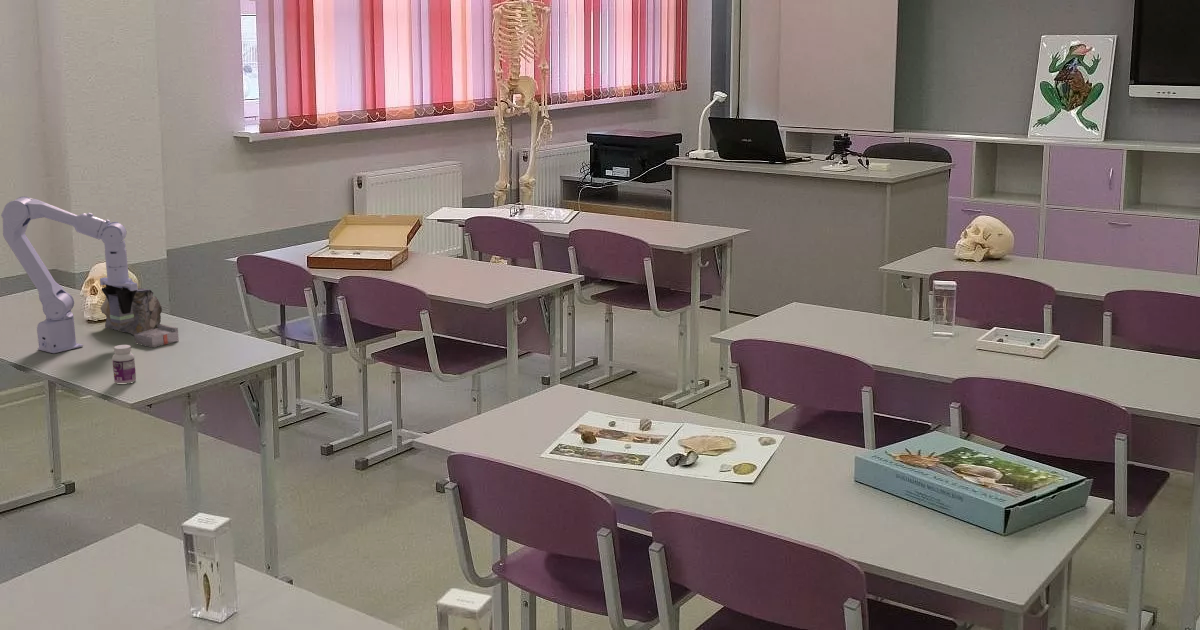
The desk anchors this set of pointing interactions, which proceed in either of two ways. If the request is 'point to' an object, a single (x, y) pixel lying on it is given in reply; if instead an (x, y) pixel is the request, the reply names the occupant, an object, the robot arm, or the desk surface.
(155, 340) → the stand block
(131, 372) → the pill bottle
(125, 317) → the grey rectangular block
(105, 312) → the fossil rock
